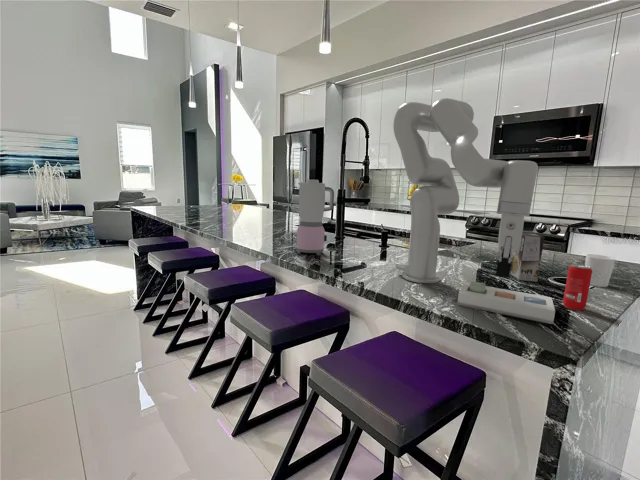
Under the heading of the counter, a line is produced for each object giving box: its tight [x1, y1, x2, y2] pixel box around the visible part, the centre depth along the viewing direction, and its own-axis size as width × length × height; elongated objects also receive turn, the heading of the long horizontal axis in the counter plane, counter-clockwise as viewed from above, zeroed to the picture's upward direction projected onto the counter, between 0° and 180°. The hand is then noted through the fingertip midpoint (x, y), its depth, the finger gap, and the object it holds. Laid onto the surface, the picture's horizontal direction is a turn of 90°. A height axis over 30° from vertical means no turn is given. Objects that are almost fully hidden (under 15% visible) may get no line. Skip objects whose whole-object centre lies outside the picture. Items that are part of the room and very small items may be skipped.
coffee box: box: [510, 232, 545, 283], centre depth 124 cm, size 9×6×16 cm
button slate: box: [526, 297, 544, 305], centre depth 90 cm, size 4×4×3 cm
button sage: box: [469, 281, 487, 294], centre depth 97 cm, size 4×4×3 cm
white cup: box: [584, 253, 616, 288], centre depth 120 cm, size 8×8×10 cm
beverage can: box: [562, 263, 592, 312], centre depth 95 cm, size 5×5×12 cm
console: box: [456, 282, 556, 325], centre depth 94 cm, size 22×12×3 cm, turn 60°
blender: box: [295, 178, 335, 256], centre depth 150 cm, size 16×12×32 cm
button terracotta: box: [497, 292, 513, 299], centre depth 94 cm, size 4×4×3 cm
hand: (502, 275), depth 94 cm, fingers closed
